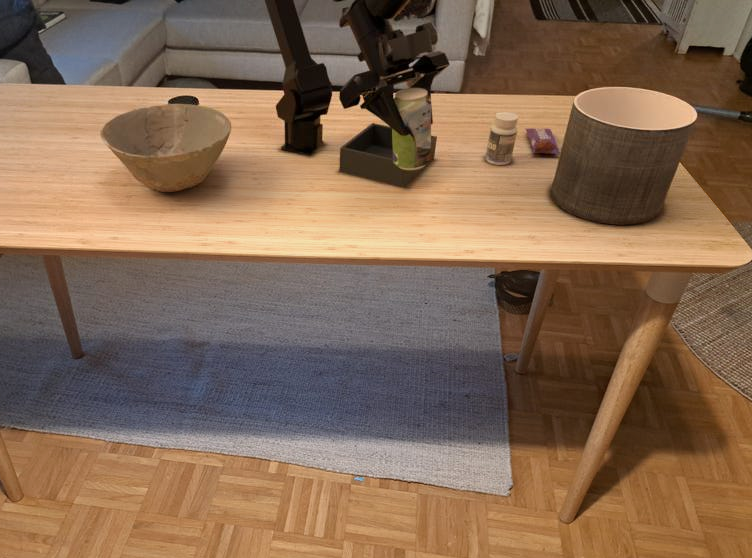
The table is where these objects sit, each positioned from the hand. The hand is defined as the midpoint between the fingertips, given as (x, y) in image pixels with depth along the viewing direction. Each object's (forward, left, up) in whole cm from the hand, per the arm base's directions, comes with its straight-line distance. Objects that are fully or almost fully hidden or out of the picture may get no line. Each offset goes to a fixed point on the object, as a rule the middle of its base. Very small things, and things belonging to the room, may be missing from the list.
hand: (417, 129), depth 106 cm
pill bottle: (+9, +24, -14) cm, 29 cm away
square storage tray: (-9, +13, -13) cm, 21 cm away
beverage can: (-1, +1, -7) cm, 7 cm away
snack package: (+15, +34, -14) cm, 40 cm away
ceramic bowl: (-42, -9, -14) cm, 45 cm away
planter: (+29, +16, -14) cm, 36 cm away
